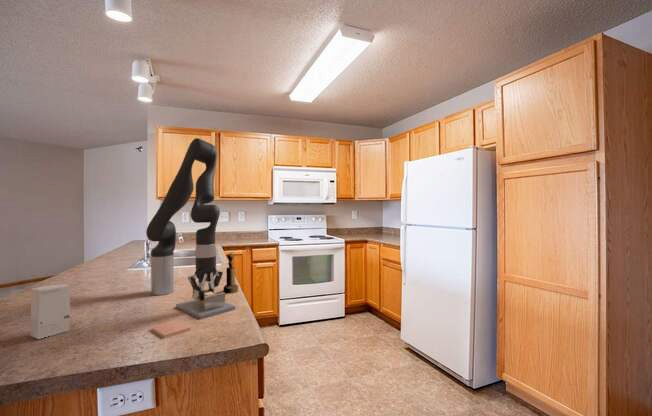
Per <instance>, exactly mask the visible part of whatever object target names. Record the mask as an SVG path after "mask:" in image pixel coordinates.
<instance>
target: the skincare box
mask: <svg viewBox="0 0 652 416" xmlns="http://www.w3.org/2000/svg"><path fill="white" fill-rule="evenodd" d="M30 293H31V294H30V329H29V330H30V337H32V338H34V339H35V338H36V340H37V339H39V340H41V338H42V339H45V338H44V337H46V338H49V337H52V336H54V335H55V336H56V335H58V334H62V333H66V332H69V331H70V321H71V320H70V317H71V316H70V314H71V313H70V312H71V285H69V284H66V283H65V284H64V283H59V284H52V285H45V286H39V287H33V288H30ZM48 336H49V337H48Z"/></svg>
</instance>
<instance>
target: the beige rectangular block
mask: <svg viewBox="0 0 652 416" xmlns="http://www.w3.org/2000/svg"><path fill="white" fill-rule="evenodd" d="M203 291H204V301H201V300H200V299H199V298H198V297H199V296H198V291H196V290H194V289H193V288H192V299H193V300H196V301H198V302H200V303H202V304H203V305H204V310H205V311H207V310H210V309H214V308H218V307H221V306H225V303H226V293H224V292H220V293H215V292H214V293H213V292H211V291H209V290H208V289H207V288H205V287H204V290H203Z"/></svg>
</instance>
